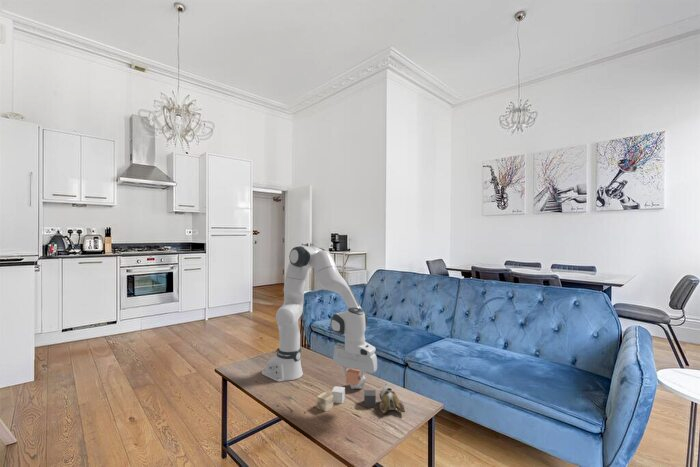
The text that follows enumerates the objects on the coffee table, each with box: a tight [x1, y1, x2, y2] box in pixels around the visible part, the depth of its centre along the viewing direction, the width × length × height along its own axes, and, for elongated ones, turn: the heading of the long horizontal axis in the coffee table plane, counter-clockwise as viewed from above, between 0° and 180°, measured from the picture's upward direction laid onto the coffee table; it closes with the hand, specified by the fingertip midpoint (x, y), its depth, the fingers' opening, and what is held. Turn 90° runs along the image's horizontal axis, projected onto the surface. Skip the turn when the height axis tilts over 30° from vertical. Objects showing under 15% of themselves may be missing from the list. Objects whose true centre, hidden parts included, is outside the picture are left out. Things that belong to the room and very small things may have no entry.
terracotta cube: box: [345, 368, 362, 386], centre depth 138 cm, size 5×5×5 cm
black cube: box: [363, 389, 377, 408], centre depth 142 cm, size 5×5×5 cm
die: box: [349, 374, 367, 390], centre depth 157 cm, size 8×9×10 cm
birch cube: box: [316, 391, 334, 412], centre depth 139 cm, size 5×5×5 cm
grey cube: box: [331, 385, 346, 404], centre depth 145 cm, size 5×5×5 cm
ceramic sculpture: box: [379, 383, 406, 415], centre depth 139 cm, size 11×9×15 cm
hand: (354, 378), depth 138 cm, fingers closed on terracotta cube, 5 cm apart
